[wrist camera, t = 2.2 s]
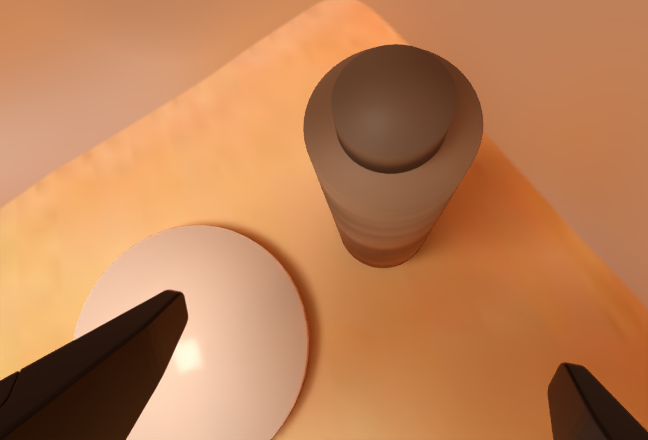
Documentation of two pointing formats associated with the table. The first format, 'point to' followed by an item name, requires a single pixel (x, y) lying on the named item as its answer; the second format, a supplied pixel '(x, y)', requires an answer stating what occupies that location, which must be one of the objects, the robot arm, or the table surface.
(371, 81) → the pepper mill
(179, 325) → the robot arm
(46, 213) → the table surface
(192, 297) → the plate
